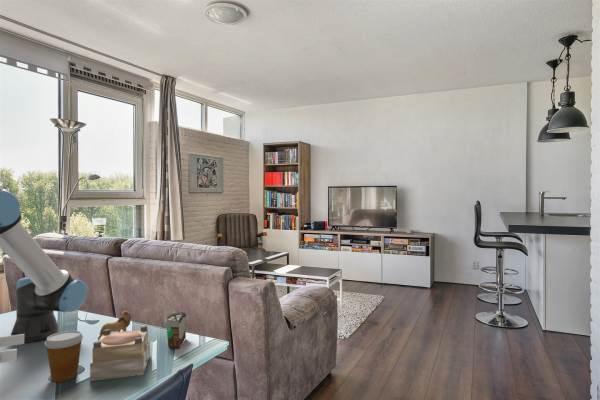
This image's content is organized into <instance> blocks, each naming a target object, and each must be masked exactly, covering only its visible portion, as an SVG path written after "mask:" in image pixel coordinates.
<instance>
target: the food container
mask: <svg viewBox="0 0 600 400" xmlns="http://www.w3.org/2000/svg"><path fill="white" fill-rule="evenodd" d="M163 324H164V326H166V337H167V347H168V346H169V347H168V348H170V349H173V350H174V349H175V350H179V349H181V347H182V346H183V344H184V342H185V341H184V339H185V338H186V337H187V336H186V335H187V334H186V333H187V332H186V331H187V311H186V310H185V311H177V312H173V313H172V312H171V313H170V314H168V315H166V317H165V319H164V323H163ZM186 339H187V338H186ZM186 339H185V340H186ZM183 341H184V342H183ZM182 343H183V344H182ZM181 345H182V346H181Z"/></svg>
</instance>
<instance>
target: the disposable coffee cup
mask: <svg viewBox="0 0 600 400" xmlns="http://www.w3.org/2000/svg"><path fill="white" fill-rule="evenodd" d="M83 339H84V335H83V334H82V332H81V331H79V330H66V331H59V333H56V334H53V335H50V336H49V337H47V339H45V342H44V346H45V348H46V352H47V358H48V365H49V366H48V367H49V372H50V379H51V381H52V382H54V383H57V382H58V383H61V382H67V381H70V380H72V379H74V378H75V377H77V376H78V371H79V363H80V362H79V361H80V357H81V356H80V354H81V349H82V348H81V347H82V341H83Z"/></svg>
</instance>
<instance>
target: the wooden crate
mask: <svg viewBox="0 0 600 400" xmlns="http://www.w3.org/2000/svg"><path fill="white" fill-rule="evenodd" d="M148 330H149V329H148V326H147V325H141V326H140V329H136V330H128V331H127V330H126V331H123V330H122V331H120V332H118V331H117V332H112V333H110V329H105V330H103V335H102V337H101V338H100V339H99V340H98V339H97V341H94V342H93V347H92V360H91V361H90V364H89V381H90V382H94V381H102V380H110V379H118V378H128V376H129V377H134V376H135V375H137V376H143V375H144V374H145V371H146V367H147V365H148V361H149V359H150V345H151V344H150V343H151V342H150V340H149V339H148V338H149V337H148V334H149V333H148Z"/></svg>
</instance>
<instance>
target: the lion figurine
mask: <svg viewBox="0 0 600 400" xmlns="http://www.w3.org/2000/svg"><path fill="white" fill-rule="evenodd" d="M119 315H120V316H119V317H118V319H117V320H116V321H114V322H107V323H105V324H103V325H102V326H101V329H100V331H99V336H98V338H97V341H98V340H99V339H100V338H101V337H102V335H103V330H105V329H110V333H112V332H123V331H127V328H128V327H129V326H130V324H131V321H132V314H131V312H130V311H129V310H123V311H122V312H120V314H119ZM121 330H122V331H121Z"/></svg>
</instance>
